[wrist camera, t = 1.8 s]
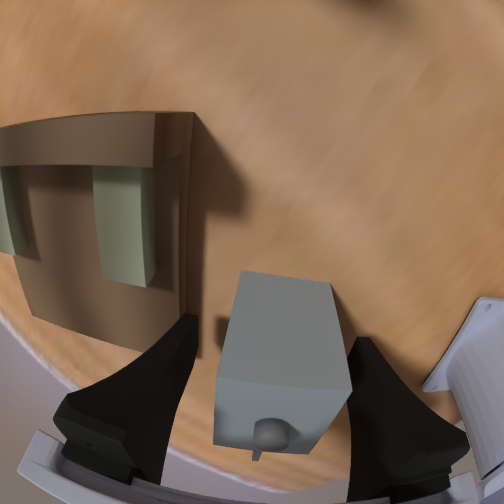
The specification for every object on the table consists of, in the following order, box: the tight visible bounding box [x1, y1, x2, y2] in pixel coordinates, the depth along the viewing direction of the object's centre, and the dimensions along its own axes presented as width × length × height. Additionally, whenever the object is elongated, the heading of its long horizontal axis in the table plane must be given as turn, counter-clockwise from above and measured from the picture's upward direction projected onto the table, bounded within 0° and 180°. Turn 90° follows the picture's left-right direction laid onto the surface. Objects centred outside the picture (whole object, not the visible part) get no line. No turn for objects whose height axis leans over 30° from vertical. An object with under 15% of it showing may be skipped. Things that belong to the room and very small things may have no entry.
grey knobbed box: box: [213, 270, 352, 461], centre depth 12 cm, size 4×7×7 cm, turn 173°
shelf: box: [0, 111, 194, 353], centre depth 11 cm, size 11×12×4 cm
